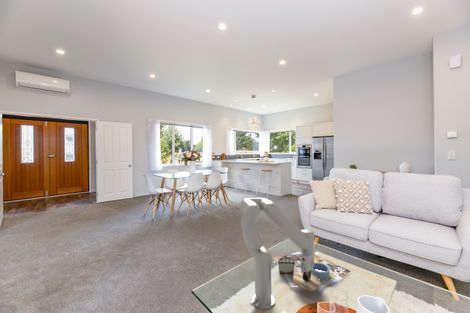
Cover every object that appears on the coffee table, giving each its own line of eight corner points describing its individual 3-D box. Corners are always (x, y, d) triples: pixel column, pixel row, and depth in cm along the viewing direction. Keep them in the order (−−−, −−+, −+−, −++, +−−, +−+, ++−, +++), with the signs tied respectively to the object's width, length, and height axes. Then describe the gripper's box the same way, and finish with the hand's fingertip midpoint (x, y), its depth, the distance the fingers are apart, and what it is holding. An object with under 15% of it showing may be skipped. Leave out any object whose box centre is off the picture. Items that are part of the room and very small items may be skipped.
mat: (315, 303, 120) (315, 302, 120) (289, 290, 131) (289, 289, 131) (326, 288, 132) (326, 287, 132) (301, 278, 143) (301, 276, 143)
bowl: (325, 284, 136) (325, 275, 135) (307, 276, 144) (307, 268, 144) (332, 275, 144) (332, 267, 144) (314, 268, 153) (314, 260, 152)
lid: (313, 294, 120) (314, 284, 119) (288, 281, 131) (288, 272, 130) (324, 281, 131) (325, 271, 131) (300, 270, 142) (300, 262, 142)
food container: (294, 270, 151) (293, 257, 151) (295, 275, 145) (295, 261, 145) (276, 270, 153) (276, 256, 152) (277, 275, 146) (277, 261, 146)
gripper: (307, 257, 121) (306, 288, 122) (318, 247, 133) (318, 275, 134) (295, 252, 126) (294, 282, 127) (307, 243, 138) (306, 270, 139)
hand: (306, 278), depth 131 cm, fingers closed on lid, 3 cm apart
